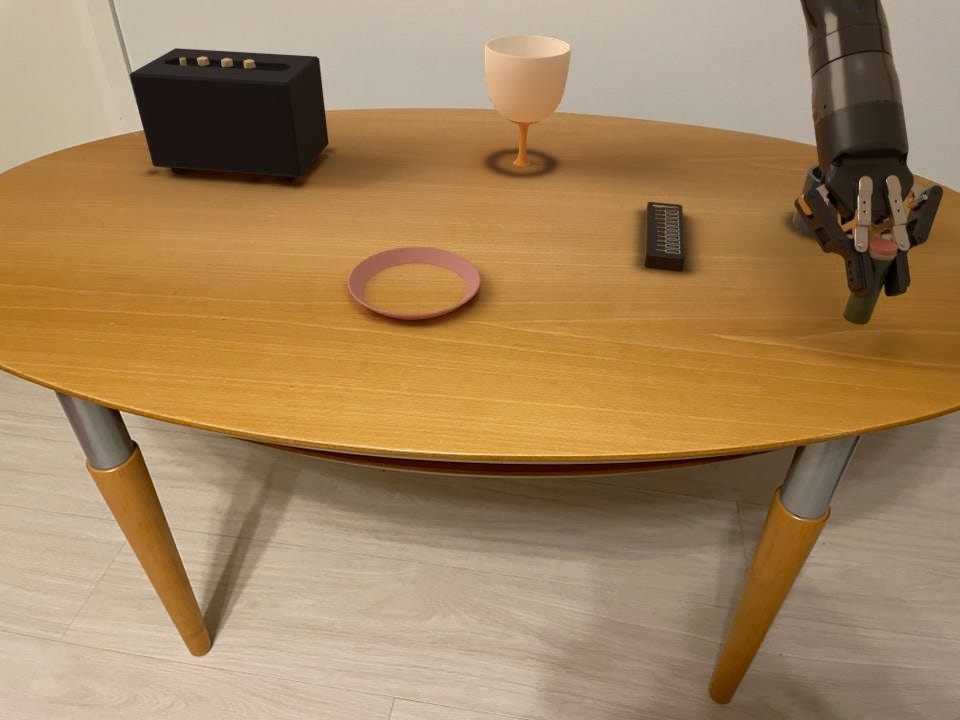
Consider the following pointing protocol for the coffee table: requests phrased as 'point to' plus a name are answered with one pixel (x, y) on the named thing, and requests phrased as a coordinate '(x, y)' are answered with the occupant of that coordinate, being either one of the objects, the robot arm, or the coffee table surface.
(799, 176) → the coffee table surface
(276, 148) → the speaker
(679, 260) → the dark brown flat block
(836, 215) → the pen cup
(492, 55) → the cup
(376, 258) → the ring
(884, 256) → the pencil
